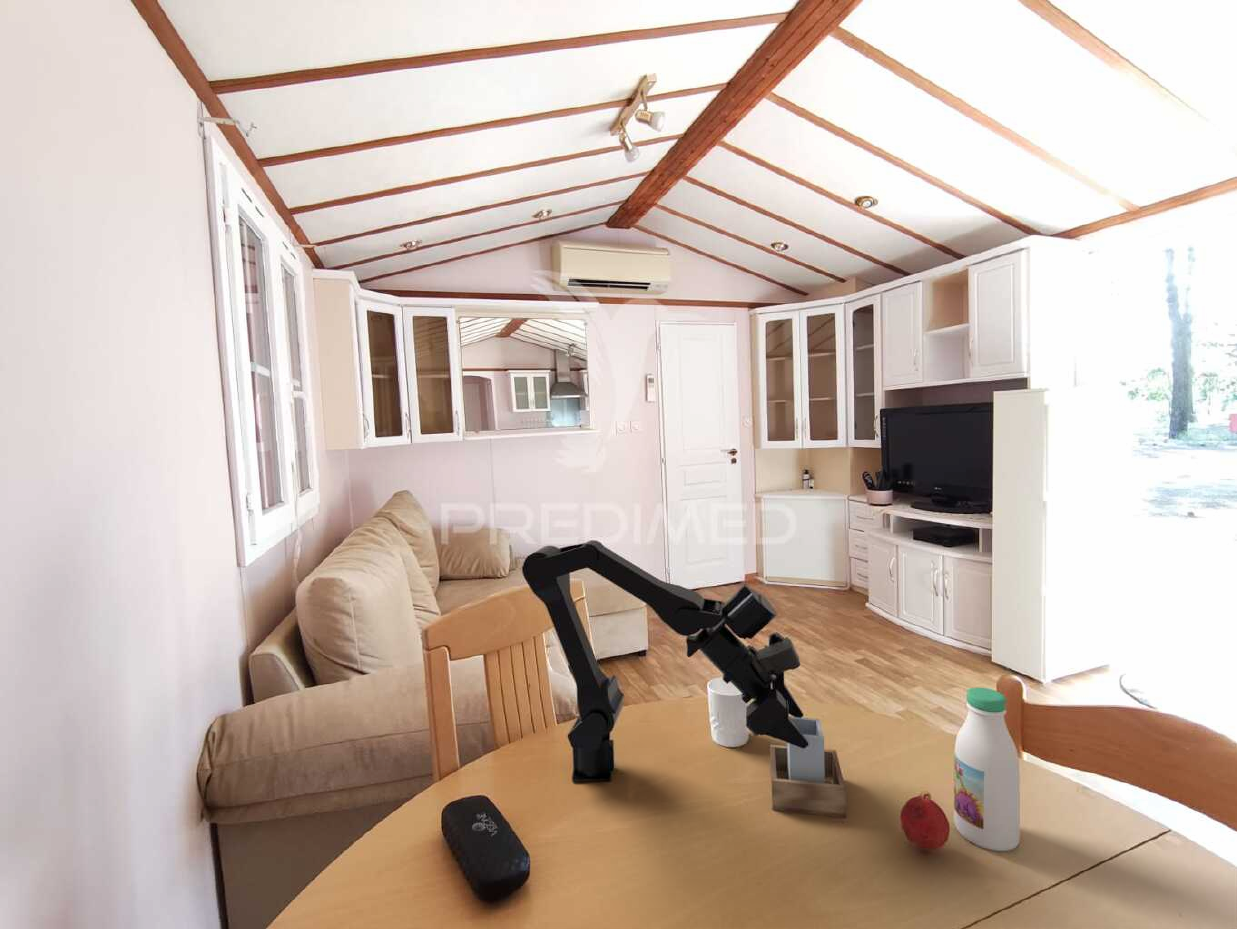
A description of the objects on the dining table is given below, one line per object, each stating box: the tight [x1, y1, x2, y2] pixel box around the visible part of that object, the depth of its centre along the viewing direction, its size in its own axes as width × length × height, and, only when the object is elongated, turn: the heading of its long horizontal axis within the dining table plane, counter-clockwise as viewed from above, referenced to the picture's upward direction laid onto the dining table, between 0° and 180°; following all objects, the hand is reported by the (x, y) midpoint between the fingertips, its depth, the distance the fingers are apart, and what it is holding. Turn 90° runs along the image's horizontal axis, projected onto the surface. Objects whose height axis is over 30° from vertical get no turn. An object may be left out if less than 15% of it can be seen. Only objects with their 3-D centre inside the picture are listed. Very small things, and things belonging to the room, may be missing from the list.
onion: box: [899, 791, 951, 852], centre depth 78 cm, size 6×6×8 cm
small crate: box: [786, 716, 825, 783], centre depth 91 cm, size 5×6×10 cm
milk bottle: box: [953, 687, 1021, 852], centre depth 81 cm, size 8×8×20 cm
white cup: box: [706, 676, 751, 748], centre depth 109 cm, size 8×8×10 cm
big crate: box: [769, 744, 847, 819], centre depth 92 cm, size 10×10×4 cm
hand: (803, 730), depth 91 cm, fingers open, 9 cm apart
